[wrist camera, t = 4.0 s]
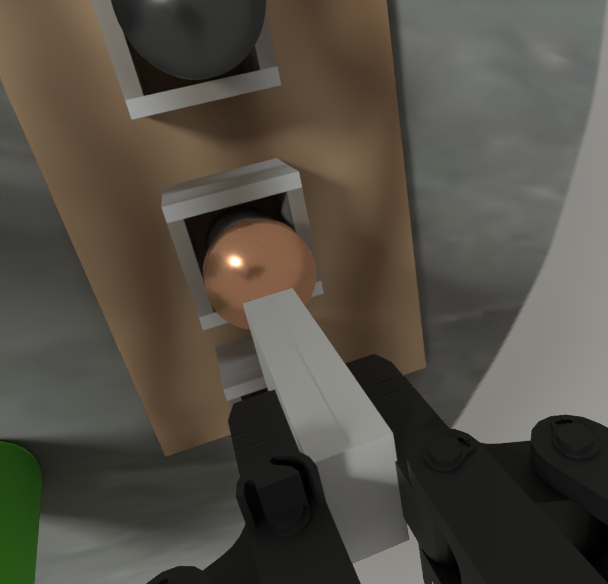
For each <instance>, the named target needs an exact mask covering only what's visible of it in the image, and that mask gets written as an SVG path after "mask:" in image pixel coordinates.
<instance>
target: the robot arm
mask: <svg viewBox="0 0 608 584" xmlns="http://www.w3.org/2000/svg"><path fill="white" fill-rule="evenodd" d="M243 307H244V310H245V314H246V317H247V321H248V324H249V328H250V331H251V335H252V338H253V341H254V345H255V348H256V352H257V355H258V359H259V362H260V366H261V369H262V373H263V376H264V380H265V382H266V385H267V388H268V390H269V391H268V392H266V393H263V394H260V395H257V396H254V397H251V398H248V399H245V400H242V401H239V402H237V403H234V404H233V406H232V409H231V412H230V415H229V418H228V424H229V428H230V433H231V437H232V442H233V446H234V451H235V455H236V460H237V464H238V469H239V473H240V479H239V481H238V483H237V491H236V498H237V501H238V504H239V506H240V509H241V512H242V514H243V517H244V520H245V522H246V523H245V527H244V529H243V531H242V533H241V535H240V537H239V538H238V540H237V541H236V542H235V544H234V545H233V546H232V547H231V548H230V549H229V550H228V551H227V552H226V553H225V554H224V555H223V556H221V557H220V558H219V559H217V560H216V561H215V562H213V563H212V564H211V565H209V566H208V567H207V568H206V569H204V570H203V571H202V570H200V569H198V568H196V567H195V566H177V567H175V568H172V569H169V570H166V571H164V572H162V573H160V574H159V575H157V576H156V577H155V578H153V579H152V580H151V581H149V582H148V583H147V584H360V581H359V579H358V576H357V574H356V572H355V569H354V567H353V563H355V562H357V561H360V560H362V559H364V558H367V557H369V556H371V555H374V554H376V553H378V552H381V551H383V550H386V549H388V548H390V547H393V546H395V545H398V544H400V543H402V542H405V541H407V540H409V535H408V529H407V524H408V525H409V527H410V529H411V530H412V532H413V534H414V536H415V537H416V539H417V541H418V543H419V550H420V558H421V565H422V572H423V579H424V583H425V584H432V582H433V583H434V584H608V428H607V427H605V426H603V425H601V424H600V423H597V422H594V421H592V420H589V419H587V418H584V417H579V416H572V415H559V416H550V417H548V418H546V419H544V420H541V421H539V422H538V423H537V424H536V425H535V427H534V428H533V429H532V433H531V441H522V442H511V443H501V444H485V443H480V442H478V441H477V440H476V439H474V438H473V437H472V436H470V435H469V434H467V433H464V432H462V431H459V430H456V429H450V428H449V427H448V426H447V425H446V424H445V423H444V422H443V421H442V420H441V418H440V417H439V416H438V415H437V414H436V413H435V411H434V410H433V409H432V408H431V407H430V406H429V405H428V403H427V402H426V401H425V400H424V399H423V398H422V396H421V395H420V394H419V393H418V392H417V391H416V390H415V388H414V387H413V388H412V385H411V384H410V383H409V381H408V380H407V379H406V378H405V377H403V375H402V373H401V372H400V371H399V370H398V369H397V368H396V366H395V365H394V364H393V363H392V362H391V361H389V360H387V359H385V358H382V357H380V356H378V355H376V354H372V355H369V356H366V357H363V358H360V359H357V360H354V361H351V362H348V363H344V362H343V360H342V359H341V357H340V356H339V354H338V353H337V352H336V350H335V349H334V347H333V346H332V344H331V343H330V341H329V340H328V339H327V337H326V336H325V334H324V333H323V331H322V330H321V328H320V327H319V326H318V324H317V323H316V321H315V320H314V318H313V317H312V315H311V314H310V313H309V311H308V310H307V308H306V307H305V305H304V304H303V302H302V301H301V300H300V298H299V297H298V295H297V294H296V292H295V291H294V289H293V288H291V289H288V290H285V291H281V292H278V293H275V294H272V295H268V296H265V297H262V298H259V299H255V300H252V301H249V302H246V303H243Z"/></svg>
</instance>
